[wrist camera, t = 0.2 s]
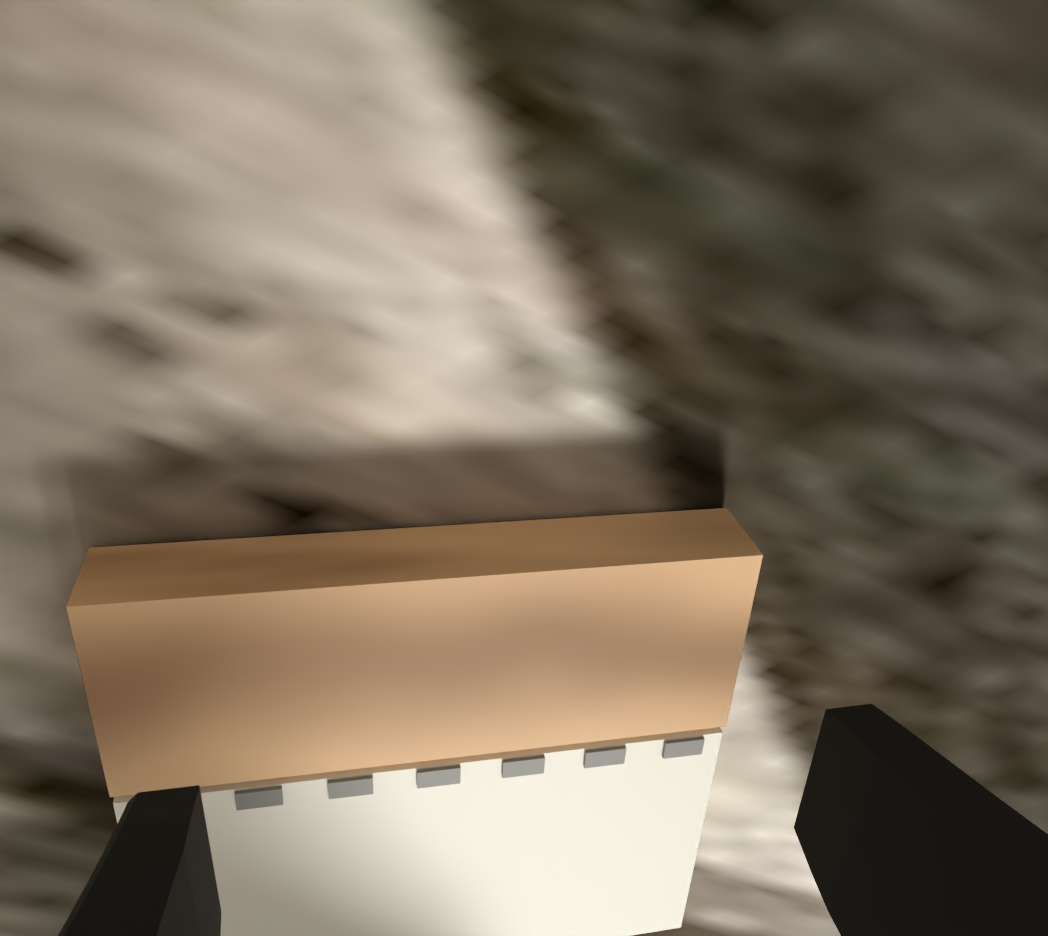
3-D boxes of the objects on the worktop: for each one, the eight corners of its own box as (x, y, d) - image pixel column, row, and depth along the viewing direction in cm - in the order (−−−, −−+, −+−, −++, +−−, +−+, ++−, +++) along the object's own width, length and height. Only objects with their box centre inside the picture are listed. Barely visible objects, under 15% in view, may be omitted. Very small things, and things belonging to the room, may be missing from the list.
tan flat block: (696, 671, 24) (726, 726, 22) (126, 728, 21) (109, 797, 19) (726, 507, 21) (763, 555, 20) (88, 547, 19) (66, 606, 17)
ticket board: (657, 867, 28) (682, 930, 26) (170, 939, 25) (159, 1015, 23) (693, 677, 24) (723, 735, 22) (129, 735, 21) (111, 807, 19)
